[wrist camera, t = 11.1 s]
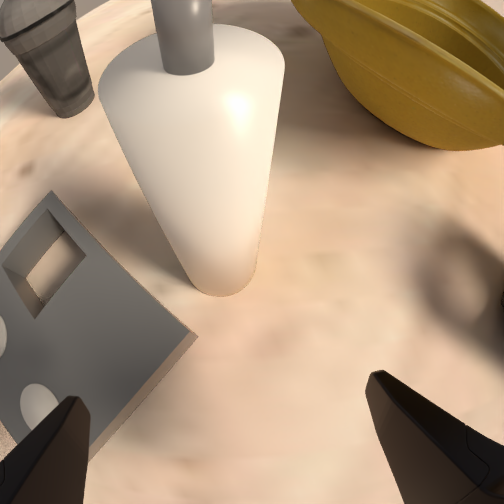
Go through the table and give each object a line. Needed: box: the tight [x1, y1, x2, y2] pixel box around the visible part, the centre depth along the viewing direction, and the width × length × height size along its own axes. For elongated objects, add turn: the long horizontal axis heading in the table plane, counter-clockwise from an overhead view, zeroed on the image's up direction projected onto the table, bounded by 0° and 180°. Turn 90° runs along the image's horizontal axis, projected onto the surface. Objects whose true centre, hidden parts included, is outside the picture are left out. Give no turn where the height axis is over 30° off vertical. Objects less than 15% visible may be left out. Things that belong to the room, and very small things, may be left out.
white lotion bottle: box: [98, 0, 285, 297], centre depth 12 cm, size 4×4×16 cm
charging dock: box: [0, 190, 198, 462], centre depth 15 cm, size 14×14×3 cm
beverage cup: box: [0, 0, 95, 118], centre depth 15 cm, size 7×7×20 cm
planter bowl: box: [291, 0, 504, 151], centre depth 20 cm, size 32×32×13 cm
